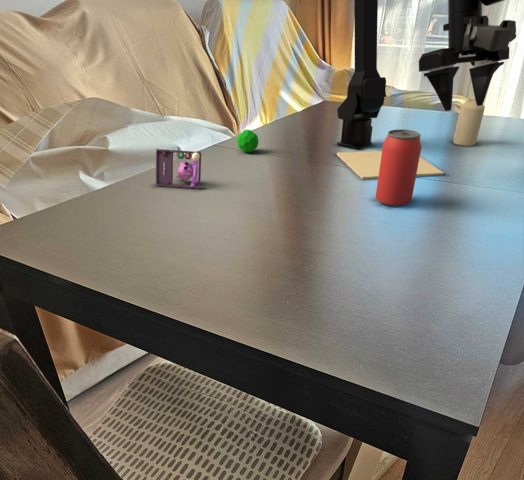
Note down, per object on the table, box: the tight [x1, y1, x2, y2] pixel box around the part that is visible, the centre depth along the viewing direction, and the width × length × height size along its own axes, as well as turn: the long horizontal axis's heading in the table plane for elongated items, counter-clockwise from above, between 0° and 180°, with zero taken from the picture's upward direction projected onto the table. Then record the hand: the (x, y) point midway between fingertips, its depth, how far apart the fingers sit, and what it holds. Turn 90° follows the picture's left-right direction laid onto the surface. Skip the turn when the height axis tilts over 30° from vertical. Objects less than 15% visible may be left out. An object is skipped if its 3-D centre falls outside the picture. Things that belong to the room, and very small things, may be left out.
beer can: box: [375, 128, 422, 207], centre depth 91 cm, size 7×7×12 cm
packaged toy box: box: [155, 148, 202, 189], centre depth 100 cm, size 7×5×9 cm
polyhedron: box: [236, 129, 259, 154], centre depth 119 cm, size 5×5×5 cm
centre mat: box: [336, 150, 445, 180], centre depth 113 cm, size 18×18×1 cm
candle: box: [452, 98, 486, 147], centre depth 125 cm, size 6×6×10 cm
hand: (464, 108), depth 97 cm, fingers open, 9 cm apart
